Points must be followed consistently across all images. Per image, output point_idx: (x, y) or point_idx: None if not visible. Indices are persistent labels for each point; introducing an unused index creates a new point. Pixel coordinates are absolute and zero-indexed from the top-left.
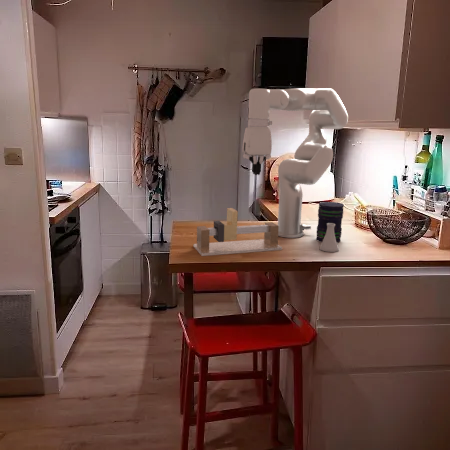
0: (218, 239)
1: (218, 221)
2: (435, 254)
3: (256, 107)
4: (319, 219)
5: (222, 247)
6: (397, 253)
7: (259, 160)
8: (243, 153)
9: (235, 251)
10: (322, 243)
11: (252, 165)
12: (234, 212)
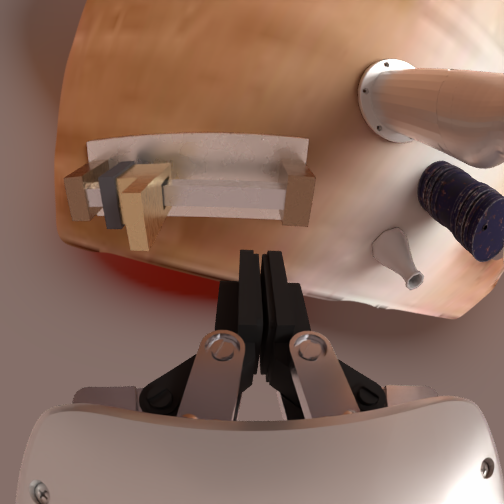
0: None
1: (110, 188)
2: (473, 300)
3: None
4: (451, 203)
5: None
6: (450, 288)
7: (282, 403)
8: (55, 408)
9: (170, 215)
10: (381, 252)
11: (216, 328)
12: (139, 248)
